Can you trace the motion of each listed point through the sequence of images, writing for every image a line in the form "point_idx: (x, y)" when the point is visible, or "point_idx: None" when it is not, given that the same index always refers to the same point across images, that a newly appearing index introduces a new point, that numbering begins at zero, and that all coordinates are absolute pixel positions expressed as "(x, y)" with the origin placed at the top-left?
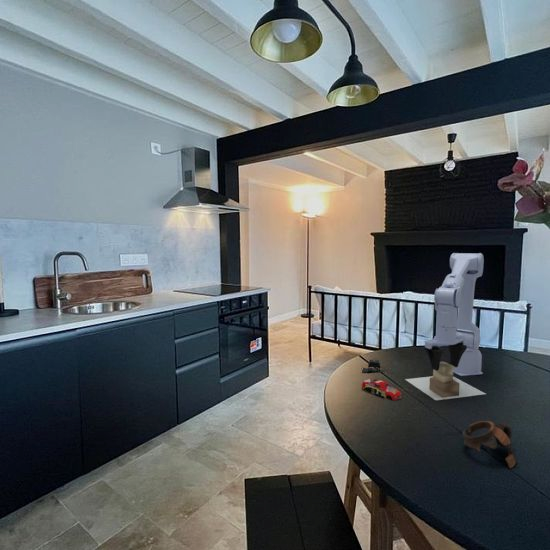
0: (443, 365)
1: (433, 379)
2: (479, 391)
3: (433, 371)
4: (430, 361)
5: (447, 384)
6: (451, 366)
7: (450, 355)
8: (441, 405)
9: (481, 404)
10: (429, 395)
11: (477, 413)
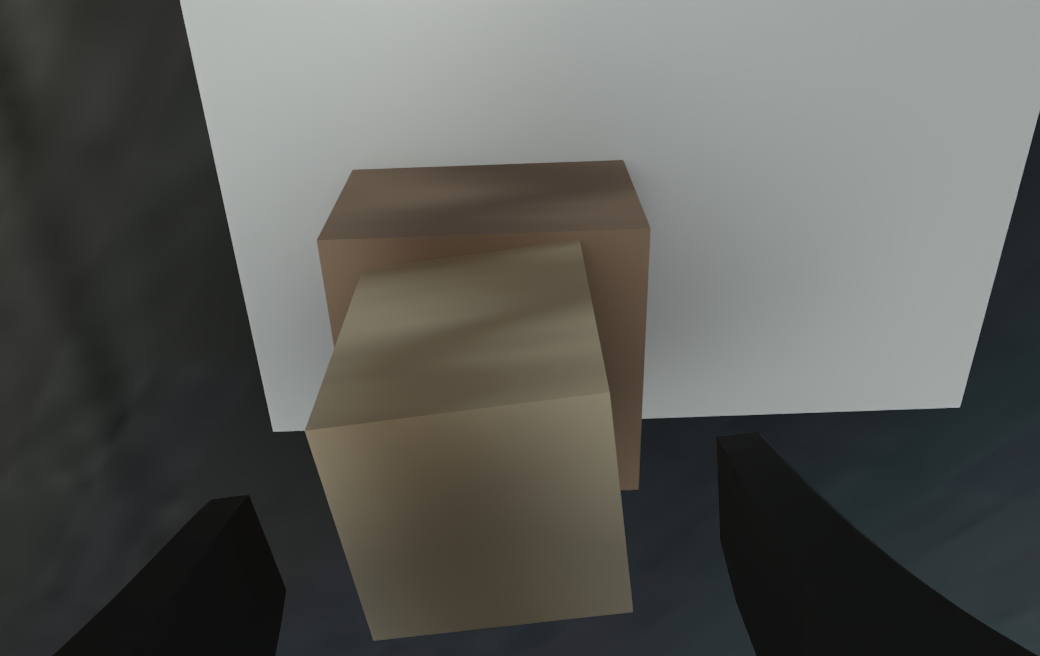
0: (443, 569)
1: (336, 320)
2: (952, 342)
3: (341, 335)
4: (116, 600)
5: None
6: (582, 609)
7: (789, 568)
8: (298, 485)
9: (713, 530)
10: (258, 324)
11: (537, 634)
